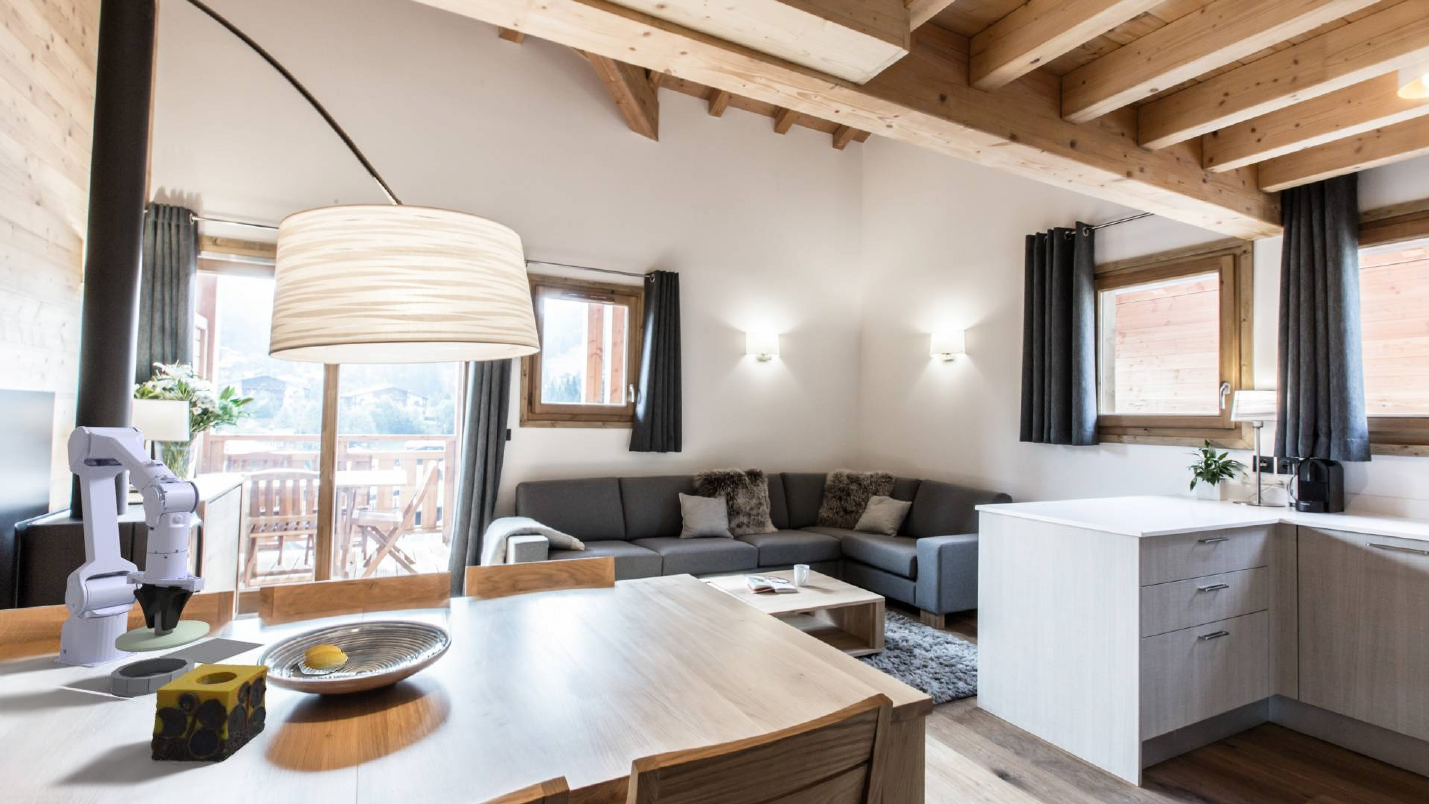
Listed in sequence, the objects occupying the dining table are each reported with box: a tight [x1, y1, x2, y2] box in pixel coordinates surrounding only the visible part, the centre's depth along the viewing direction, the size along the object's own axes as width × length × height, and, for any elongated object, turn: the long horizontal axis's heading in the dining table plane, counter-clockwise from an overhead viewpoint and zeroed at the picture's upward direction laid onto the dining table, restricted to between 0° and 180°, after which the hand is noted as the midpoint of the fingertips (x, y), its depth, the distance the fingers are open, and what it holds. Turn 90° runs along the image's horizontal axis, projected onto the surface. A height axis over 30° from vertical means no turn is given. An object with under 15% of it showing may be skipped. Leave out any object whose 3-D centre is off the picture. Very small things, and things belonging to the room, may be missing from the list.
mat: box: [158, 637, 266, 664], centre depth 135 cm, size 12×12×1 cm
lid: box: [115, 612, 211, 653], centre depth 120 cm, size 13×13×4 cm
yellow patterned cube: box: [150, 663, 269, 762], centre depth 99 cm, size 10×10×10 cm
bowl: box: [109, 656, 196, 699], centre depth 118 cm, size 11×11×3 cm
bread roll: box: [303, 644, 349, 670], centre depth 130 cm, size 8×9×4 cm
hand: (161, 628), depth 120 cm, fingers closed on lid, 3 cm apart
